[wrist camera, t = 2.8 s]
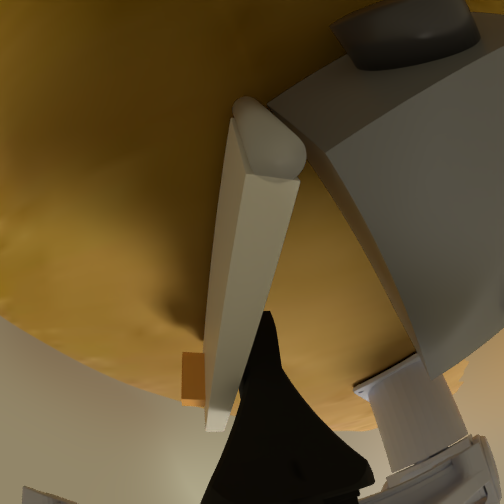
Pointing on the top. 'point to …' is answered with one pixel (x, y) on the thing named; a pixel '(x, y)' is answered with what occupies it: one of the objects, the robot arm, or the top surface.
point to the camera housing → (417, 162)
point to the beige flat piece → (243, 253)
